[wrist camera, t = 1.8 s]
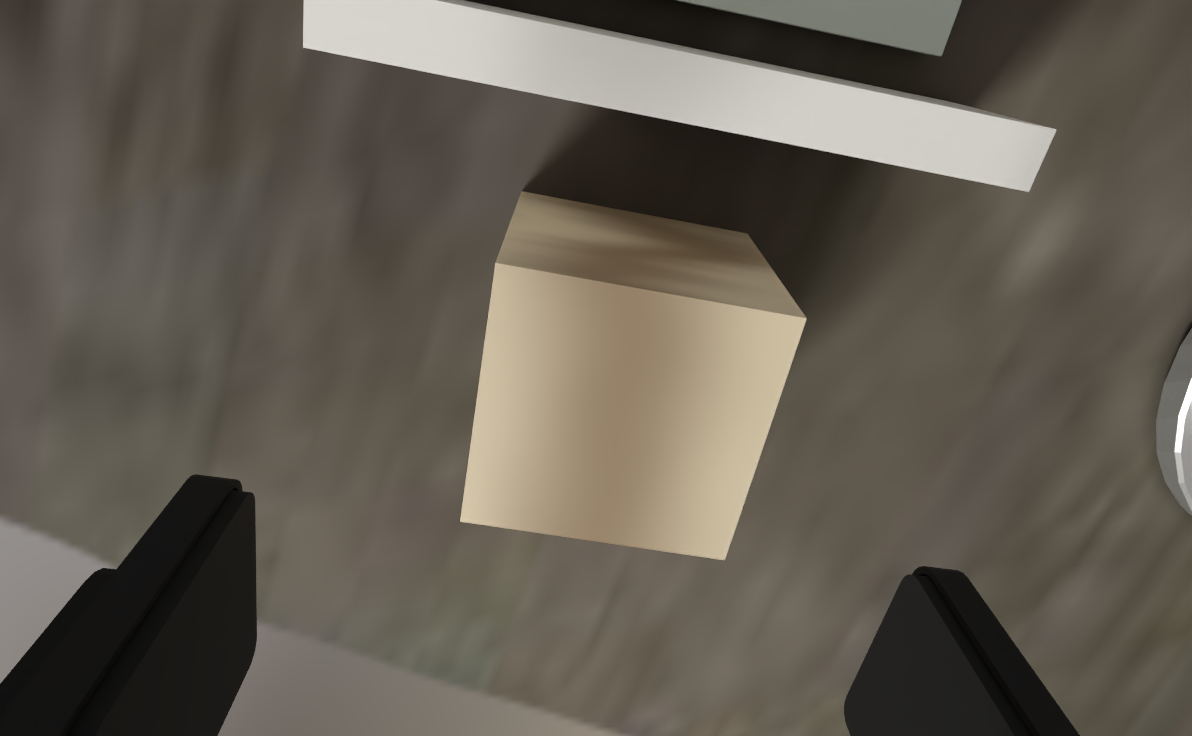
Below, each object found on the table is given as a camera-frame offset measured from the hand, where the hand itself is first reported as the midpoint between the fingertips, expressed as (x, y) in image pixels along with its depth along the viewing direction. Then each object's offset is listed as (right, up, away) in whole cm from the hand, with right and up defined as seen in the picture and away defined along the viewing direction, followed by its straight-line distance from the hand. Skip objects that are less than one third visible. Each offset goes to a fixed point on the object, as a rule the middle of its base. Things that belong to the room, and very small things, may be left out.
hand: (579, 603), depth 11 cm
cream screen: (+2, +10, +7) cm, 13 cm away
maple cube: (+1, +5, +10) cm, 11 cm away
